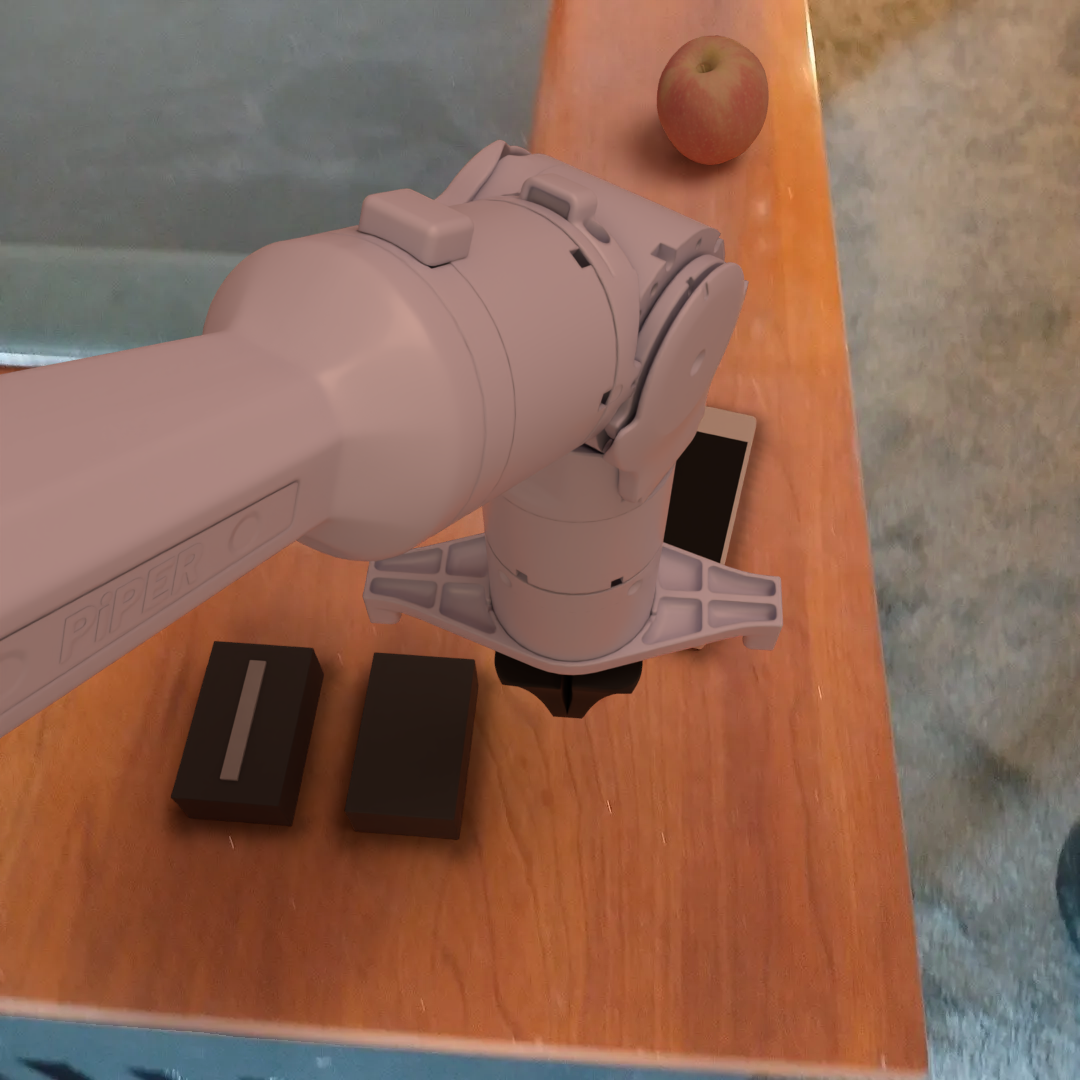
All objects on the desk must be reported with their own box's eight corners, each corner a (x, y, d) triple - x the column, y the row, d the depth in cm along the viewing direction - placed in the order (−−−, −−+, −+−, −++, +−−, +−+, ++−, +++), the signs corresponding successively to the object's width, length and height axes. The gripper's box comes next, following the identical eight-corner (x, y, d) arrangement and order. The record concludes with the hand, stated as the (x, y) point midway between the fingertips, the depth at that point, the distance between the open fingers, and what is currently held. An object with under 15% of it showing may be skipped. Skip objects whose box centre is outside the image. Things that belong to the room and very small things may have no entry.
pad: (459, 840, 50) (454, 820, 47) (354, 831, 50) (343, 811, 48) (478, 684, 54) (475, 658, 52) (382, 677, 54) (373, 651, 52)
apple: (650, 117, 79) (659, 14, 72) (753, 117, 78) (772, 14, 72) (653, 188, 74) (663, 85, 68) (762, 189, 74) (783, 86, 67)
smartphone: (756, 425, 63) (759, 415, 62) (704, 651, 55) (707, 643, 54) (638, 400, 64) (639, 390, 63) (571, 618, 56) (571, 610, 55)
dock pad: (292, 826, 50) (277, 804, 48) (189, 818, 50) (168, 796, 48) (324, 673, 54) (312, 645, 52) (229, 666, 55) (212, 638, 52)
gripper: (801, 429, 35) (740, 623, 46) (367, 404, 36) (412, 601, 47) (813, 618, 31) (743, 778, 43) (327, 585, 32) (387, 751, 43)
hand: (569, 695), depth 45 cm, fingers closed
